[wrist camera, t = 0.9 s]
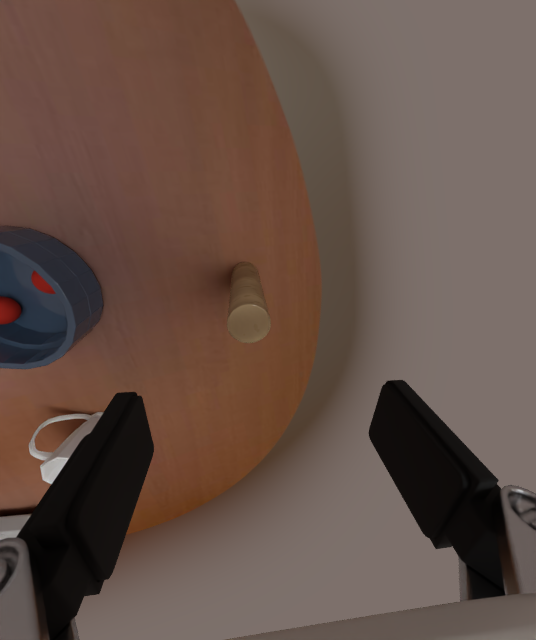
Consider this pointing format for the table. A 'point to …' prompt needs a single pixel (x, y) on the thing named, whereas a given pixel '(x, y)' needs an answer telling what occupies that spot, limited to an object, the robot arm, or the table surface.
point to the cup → (62, 445)
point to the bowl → (44, 298)
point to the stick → (247, 305)
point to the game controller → (12, 525)
